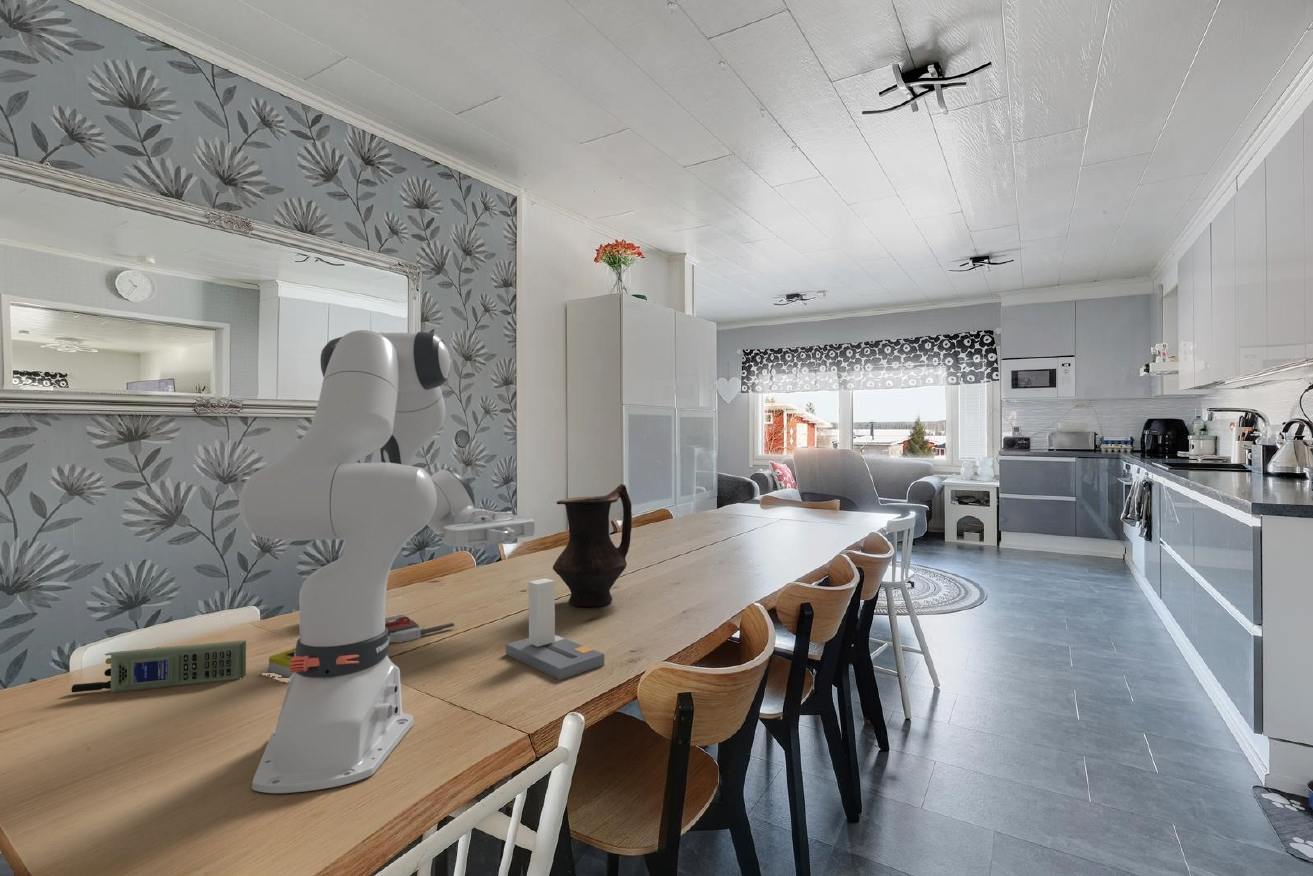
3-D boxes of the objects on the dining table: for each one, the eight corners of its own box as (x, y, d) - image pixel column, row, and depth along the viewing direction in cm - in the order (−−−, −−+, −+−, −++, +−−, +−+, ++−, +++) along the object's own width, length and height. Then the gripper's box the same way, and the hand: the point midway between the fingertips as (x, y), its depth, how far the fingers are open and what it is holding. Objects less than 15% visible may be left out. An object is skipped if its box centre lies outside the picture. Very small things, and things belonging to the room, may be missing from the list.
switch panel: (506, 654, 119) (506, 643, 119) (548, 641, 126) (548, 631, 126) (560, 680, 106) (560, 668, 106) (604, 664, 113) (604, 653, 113)
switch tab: (529, 643, 119) (528, 581, 119) (546, 638, 122) (545, 578, 122) (537, 646, 117) (537, 584, 117) (554, 641, 120) (554, 580, 119)
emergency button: (257, 653, 110) (335, 629, 123) (257, 677, 110) (335, 651, 123) (287, 662, 106) (365, 636, 119) (287, 687, 106) (365, 658, 119)
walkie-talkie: (360, 654, 121) (456, 631, 135) (360, 632, 121) (456, 612, 135) (346, 644, 127) (439, 623, 141) (346, 622, 127) (439, 604, 141)
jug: (568, 617, 143) (567, 490, 143) (543, 599, 159) (542, 484, 159) (648, 605, 153) (647, 486, 153) (616, 589, 169) (615, 481, 169)
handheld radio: (241, 681, 108) (65, 700, 100) (247, 675, 111) (78, 693, 103) (241, 643, 108) (66, 659, 101) (247, 638, 111) (78, 653, 104)
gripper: (431, 519, 130) (462, 526, 120) (515, 510, 145) (548, 515, 135) (431, 548, 130) (462, 557, 120) (515, 537, 145) (548, 544, 135)
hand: (508, 535), depth 128 cm, fingers closed
